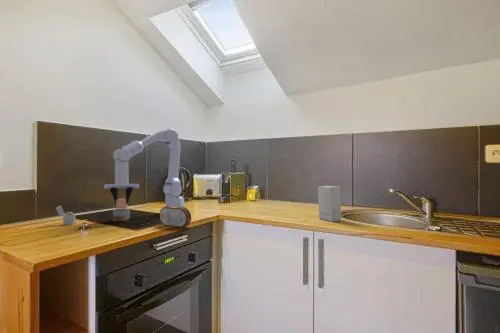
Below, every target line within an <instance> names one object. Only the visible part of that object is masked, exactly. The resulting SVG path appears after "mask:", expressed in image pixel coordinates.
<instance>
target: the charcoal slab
mask: <svg viewBox="0 0 500 333" xmlns="http://www.w3.org/2000/svg"><path fill="white" fill-rule="evenodd" d="M126 215H130V216H131V209H130V208H126V209H114V210H112V217H113V216H126Z"/></svg>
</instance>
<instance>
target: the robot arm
mask: <svg viewBox="0 0 500 333" xmlns="http://www.w3.org/2000/svg"><path fill="white" fill-rule="evenodd" d="M157 141H160V142H162V143H163V144H165V145H166V146H167V147H168V148H169V158H168V159H169V160H168V170H167V172H168V173H167V178H166V180H165V183H164V186H163V188H162V191H163V193H164V194H165V197H164V198H165V199H164V200H165V202H164V203H165V206H164V207H166V206H179V207H185V198H184V196H180V195H181V194H182V192H183V189H182V188H183V187H182V182H181V180H180V178H179V173H180V161H181V150H182V144H181V141H180V138H179V133H178V132H177V131H176V130H175V129H174V128H168V129H163V130H160V131H156V132H154V133H152V134H151V135H149V136H147V137H145V138H143V139H141V140H140V141H139V140H132V141H130V143H129V144H126V145H123V146H121V148H119V149H116V150H115V151H114V152H113V154H112V158H113V159H114V162H115V163H114V183H109V184H108V183H107V184H104V185H103V189H104V190H106V189H107V190H108V189H109V191H110V194H111V196H112V197H113V199H114V203H115V204H114V205H116V200H118V199H119V196H118V195H119V189H125V196H126V197H125V199H126V204H128V205H129V203H130V202H129V201H130V199H131V195H132V192H133V190H134V189H139V188H140V184H139V183H130V181H129V178H130V177H129V176H130V175H129V174H130V170H129V160H130V159H131V158H133V157H135V156H136V155H138V154H139V153H142V152H143V150H144V148H145V147H147V146H149V145H151V144H153V143H155V142H157Z"/></svg>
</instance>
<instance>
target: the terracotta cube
mask: <svg viewBox="0 0 500 333" xmlns="http://www.w3.org/2000/svg"><path fill="white" fill-rule="evenodd" d="M115 205H116V208H115V210H118V209H128V205H129V203H128V204H126V198H118V200H116V204H115Z"/></svg>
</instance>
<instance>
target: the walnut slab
mask: <svg viewBox="0 0 500 333" xmlns="http://www.w3.org/2000/svg"><path fill="white" fill-rule="evenodd" d="M130 218H131V214H130V215H126V216H113V215H112V222H127V221H128V220H129V219H130Z"/></svg>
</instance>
